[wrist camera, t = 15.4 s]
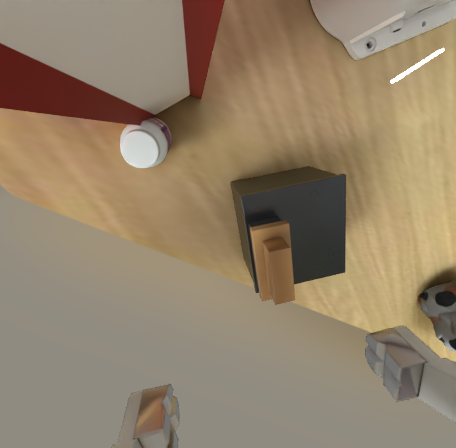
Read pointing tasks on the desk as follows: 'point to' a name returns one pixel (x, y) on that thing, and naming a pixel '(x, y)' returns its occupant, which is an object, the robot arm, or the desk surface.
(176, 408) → the robot arm
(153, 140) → the pill bottle
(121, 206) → the desk surface
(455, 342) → the lucky cat figurine
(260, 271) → the brush
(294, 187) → the cabinet
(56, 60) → the book
